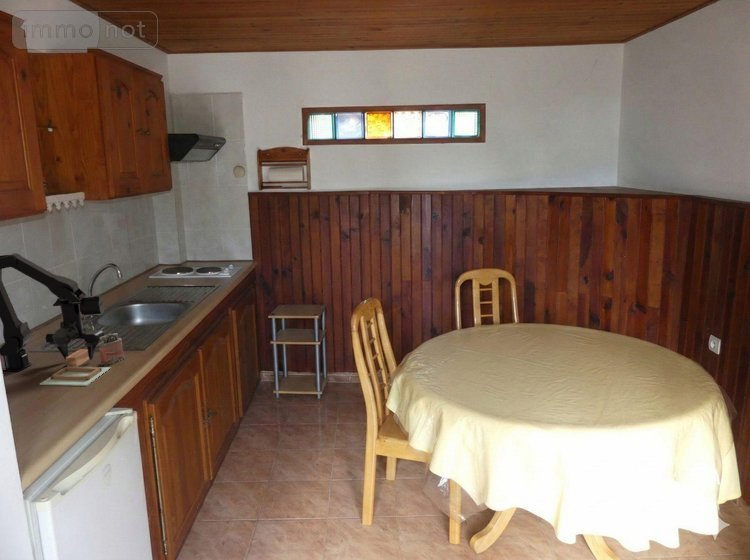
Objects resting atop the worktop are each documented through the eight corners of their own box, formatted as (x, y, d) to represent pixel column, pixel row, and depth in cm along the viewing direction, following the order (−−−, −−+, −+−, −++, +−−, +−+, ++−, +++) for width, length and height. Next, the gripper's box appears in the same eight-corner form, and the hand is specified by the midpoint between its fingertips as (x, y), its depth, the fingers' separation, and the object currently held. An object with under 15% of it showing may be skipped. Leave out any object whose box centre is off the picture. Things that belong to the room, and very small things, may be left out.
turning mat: (39, 384, 184) (39, 380, 184) (67, 367, 198) (66, 363, 197) (86, 385, 182) (85, 381, 182) (111, 368, 196) (110, 364, 195)
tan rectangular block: (67, 367, 199) (65, 357, 198) (81, 358, 206) (80, 349, 206) (76, 367, 198) (75, 357, 197) (90, 358, 206) (89, 349, 205)
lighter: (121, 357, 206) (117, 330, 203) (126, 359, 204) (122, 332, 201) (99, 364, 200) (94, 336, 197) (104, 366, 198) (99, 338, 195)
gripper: (30, 324, 192) (38, 368, 196) (82, 324, 189) (90, 368, 193) (52, 313, 202) (59, 355, 206) (102, 314, 200) (108, 356, 204)
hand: (78, 359), depth 202 cm, fingers open, 9 cm apart
